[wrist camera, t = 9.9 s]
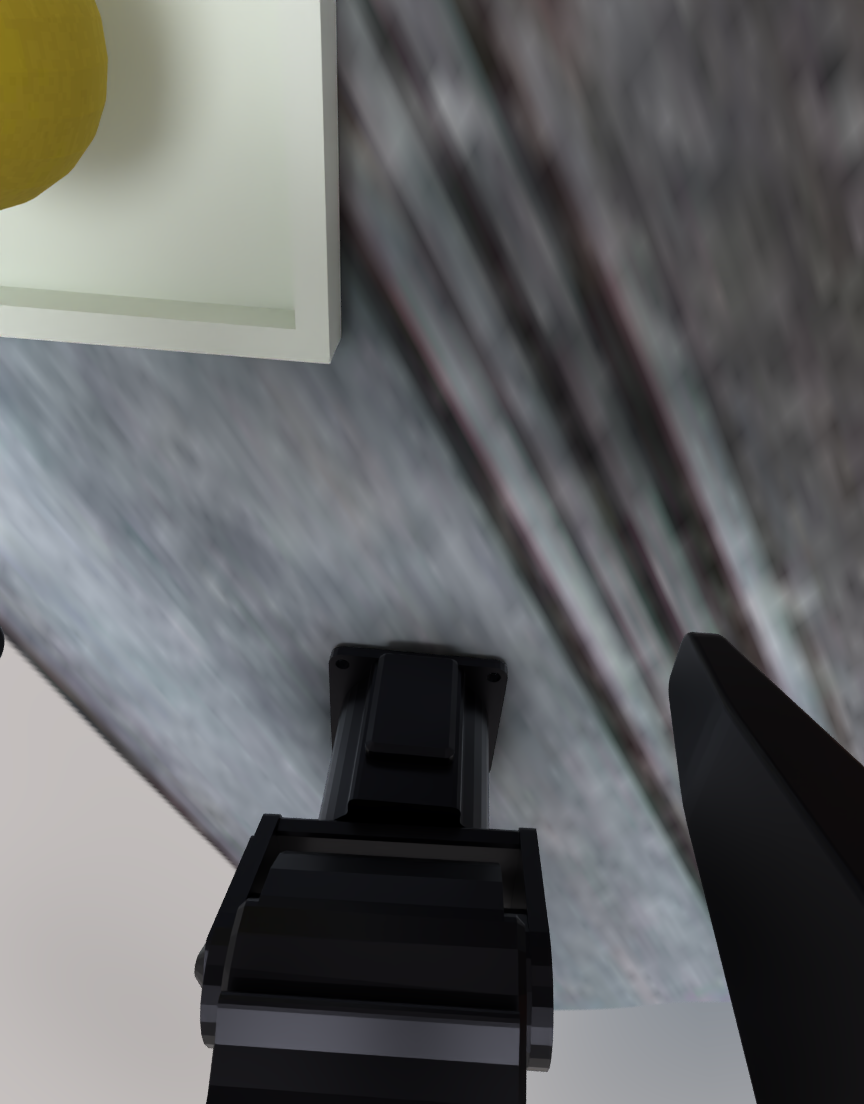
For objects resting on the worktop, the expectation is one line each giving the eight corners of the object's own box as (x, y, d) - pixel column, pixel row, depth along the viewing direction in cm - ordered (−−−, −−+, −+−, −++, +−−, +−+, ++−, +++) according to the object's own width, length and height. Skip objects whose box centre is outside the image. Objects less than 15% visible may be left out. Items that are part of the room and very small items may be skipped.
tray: (341, 337, 19) (330, 364, 17) (-127, 298, 19) (-176, 322, 18) (328, -439, 11) (306, -505, 10) (-457, -497, 11) (-593, -570, 10)
